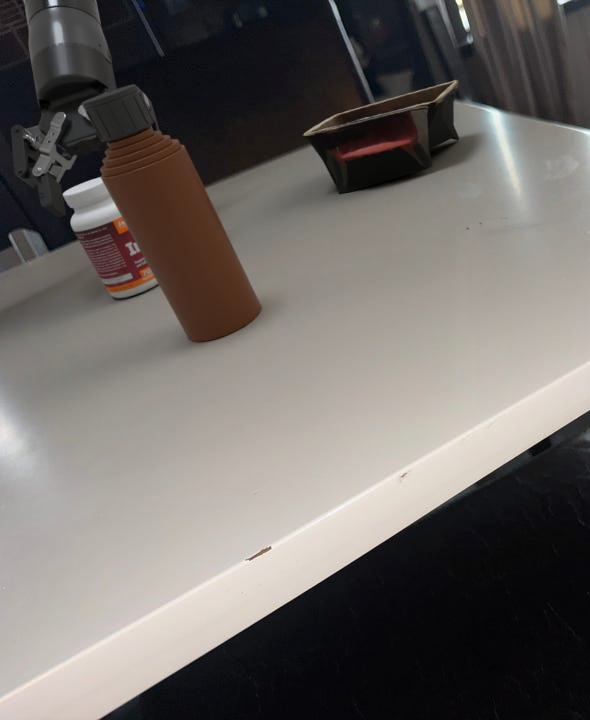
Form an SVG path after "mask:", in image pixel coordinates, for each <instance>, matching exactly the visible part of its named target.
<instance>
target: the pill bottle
mask: <svg viewBox="0 0 590 720" xmlns="http://www.w3.org/2000/svg"><path fill="white" fill-rule="evenodd" d="M62 194H63V200H64V201H65V202H66V204H67V206H68V207H69V208H70V209H73V211H74V213H73V214H72V215H71V218H70V226H71V229H72V231H73V232H74V234H75V236H76V238H77V239H78V241H79V243H80V245H81V246H82V248H83V250H84V253H86V255H87V257H88V259H89V260H90V262H91V264H92V266H93V267H94V270H95V271H96V273H97V274H98V276H99V278H100V280H101V281H102V283H103V285H104V287H105V289H106V290H107V292H108V293H109V294H110V296H112V297H113V298H115V299H125V298H130V297H132V296H136V295H138V294H141V293H143V292H146V291H148V290H150V289H152V288H154V287H156V286H158V285H159V284H158V282H157V280H156V278H155V276H154V275H153V273H152V271H151V269H150V267H149V266H148V264H147V262H146V260H145V258H144V256H143V255H142V253H141V251H140V249H139V247H138V245H137V244H136V242H135V240H134V238H133V236H132V234H131V233H130V231H129V229H128V227H127V225H126V223H125V222H124V220H123V218H122V216H121V214H120V212H119V211H118V209H117V207H116V205H115V203H114V201H113V200H112V198H111V196H110V194H109V192H108V190H107V189H106V187H105V185H104V183H103V181H102V179H101V176H99V177H97V178H92V179H90V180H87V181H84V182H82V183H79V184H77V185H74V186H73V187H70V188H68V189H67V190H65V191H64V192H62Z"/></svg>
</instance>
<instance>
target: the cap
mask: <svg viewBox="0 0 590 720" xmlns="http://www.w3.org/2000/svg"><path fill="white" fill-rule="evenodd" d="M136 86H137V85H136V84H130V85H129V84H128V85H126V86H122V87H118V88H117V89H116V90H113V91H110V92H107V93H104V94H101V95H99V96H96V97H94V98H91V99H89V100H86V101H84V102H82V106H83V108H84V109H85V112H86V114H87V116H88V118H89V120H90V121H91V123H92V125H93V127H94V129H95V131H96V133H97V135H98V136H99V138H100V139H101V141H102V142H106V141H110V140H114V139H117V138H121V137H124V136H126V135H129V134H132V133H134V132H137V131H139V130H142V129H144V128H146V127H148V126H150V125H151V124H153V118H152V116H151V114H150V112H149V110H148V108H147V106H146V104H145V102H144V100H143V98H142V96H141V94H140V92H139V91H138V89H137V87H138V86H137V87H136Z"/></svg>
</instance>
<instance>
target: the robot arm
mask: <svg viewBox="0 0 590 720" xmlns="http://www.w3.org/2000/svg"><path fill="white" fill-rule="evenodd" d="M22 2H23V4H24V10H25V17H26V22H27V28H28V51H29V58H30V64H31V69H32V74H33V82H34V87H35V93H36V94H35V95H36V99H37V104H38V106H39V109H40V112H41V117H40V120H39V123H38V125H34V126H31V127H27V128H25V127H24V126H23V125H21V124H14V125H13V126H12V127H11V129H10V132H11V133H10V135H11V147H12V161H13V172H14V175H15V176H16V177H18V178H19V179H20V180H21V181H23V182H25V183H26V184H27V185H28V186H30V187H32V188H37V192H38V198H39V205H41V207H42V208H43V209H45V210H46V211H47V212H49V213H50V214H52V215H54V216H55V217H57V218H60V217H64V216H66V214H67V213H66V212H67V211H66V206H65V199H64V197H63V187H62V184H60V181H61V180H62V178H63V176H64V174H65V172H66V171H67V170H71V169H72V167H73V165H74V164H75V161H76V159H77V158H81V157H85V156H88V155H89V154H90V153H93V152H95V151H97V152H98V151H103V150H107V149H108V148H109V146H108V144H107V142H108V141H106V142H102V141H101V139H100V138H99V136H98V135H97V133H96V131H95V129H94V127H93V125H92V123H91V121H90V120H89V118H88V116H87V114H86V112H85V109H84V108H83V106H82V102H84V101H86V100H89V99H91V98H94V97H96V96H99V95H101V94H104V93H107V92H110V91H113V90H116V89H118V87H117V83H116V79H115V73H114V67H113V57H112V54H111V52H110V49H109V44H108V43H107V39H106V37H105V34H104V32H103V27H102V22H101V21H102V20H101V16H100V11H99V7H98V3H97V0H22ZM136 87H137V89H138V91H139V92H140V94H141V96H142V98H143V100H144V102H145V104H146V106H147V108H148V110H149V112H150V114H151V116H152V118H153V124H151V125H150V126H151V127H152V128H153V130H154V131H161V130H160V127H159V124H158V120H157V116H156V114H155V110H154V106H153V104H152V101H151V100H150V98H149V97H148V96H147V95H146V94H145V93H144V91H142V90H141V88H140V87H139V86H137V85H136ZM57 147H59V148H60V149H62V150H63V152H62V154H60V153H59V151H58V150H57Z"/></svg>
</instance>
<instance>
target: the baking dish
mask: <svg viewBox="0 0 590 720" xmlns="http://www.w3.org/2000/svg"><path fill="white" fill-rule="evenodd" d="M459 86H460V83H459V80H458V79H454V80H452V81H449V82H444V83H439V84H437V85H435V86H430V87H427V88H423V89H419V90H417V91H413V92H409V93H405V94H402V95H397V96H395V97H391V98H386V99H383V100H381V101H377V102H373V103H370V104H366V105H363V106H359V107H357V108H354V109H349V110H346V111H342V112H340V113H336V114H334V115H332V116H330V117H328V118H326V119H324V120H323V121H321V122H319V123H318V124H316V125H314V126H312V127H311V128H310V129H309V130H307V131H305V132H304V133H303V134H302V136H303V137H304V139H306V140H307V141H308V142H309V144H310V145H311V146H312V148H313V150H315V152H316V153H317V154H318V156H319V158H320V159H321V161H322V162H323V164H324V166H325V168H326V170H327V172H328V174H329V176H330V178H331V179H332V181H333V183H334V185H335V187H336V189H337V191H338V195H342V194H347V193H350V192H354V191H357V190H360V189H364V188H367V187H371V186H374V185H378V184H381V183H385V182H387V181H391V180H394V179H399V178H400V177H404V176H406V175H411V174H414V173H417V172H421V171H423V170H424V171H425V170H427V169H429V168H431V167H432V165H433V163H432V162H433V161H432V158H431V152H430V150H431V149H433V148H435V147H437V146H440V145H441V144H443V143H446V142H447V141H449V140H454V141H459V140H460V137H459V134H458V132H457V129H456V127H455V122H454V121H455V117H454V115H455V113H454V111H455V109H454V107H455V106H454V104H455V100H456V94H457V91H458V88H459Z"/></svg>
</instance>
